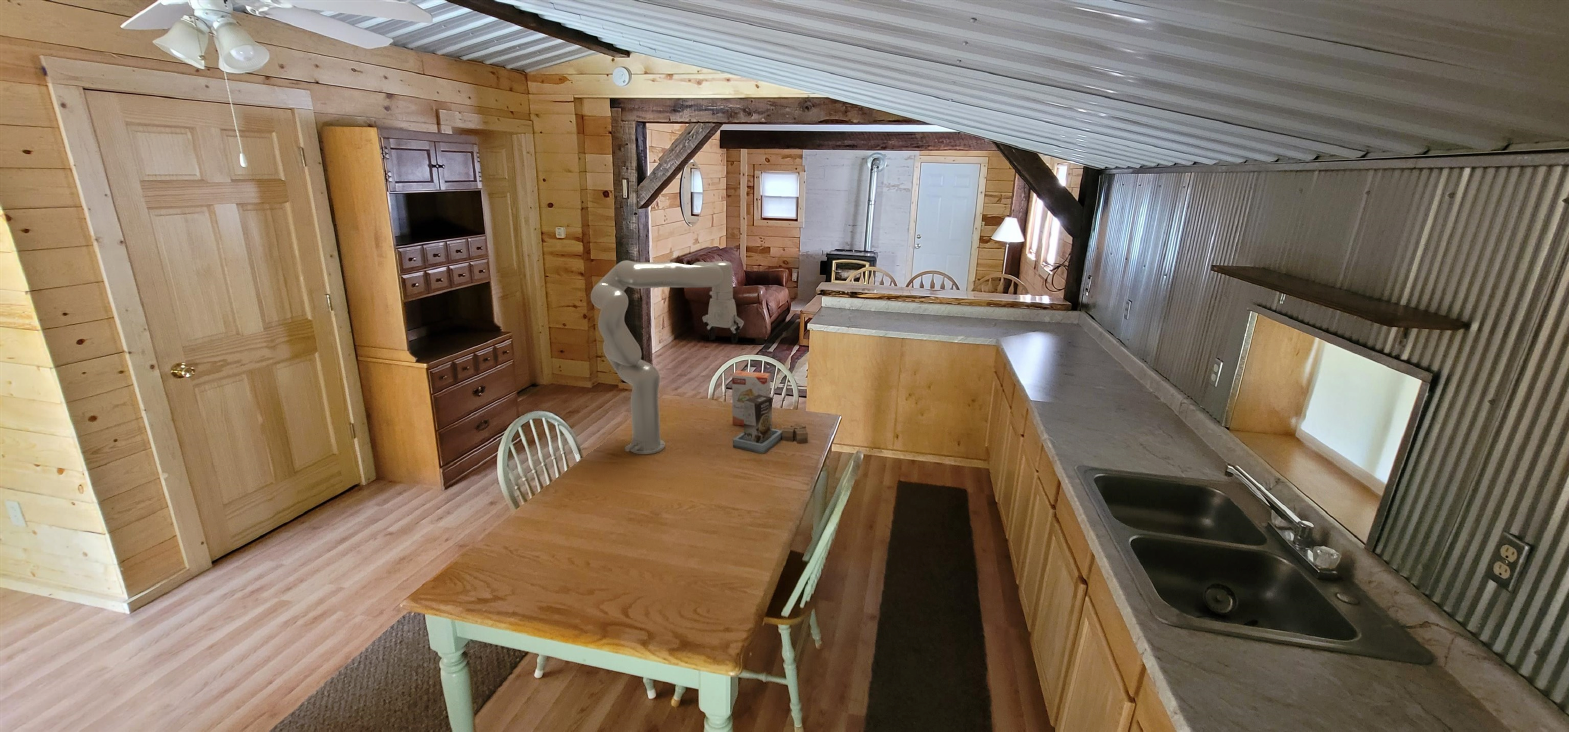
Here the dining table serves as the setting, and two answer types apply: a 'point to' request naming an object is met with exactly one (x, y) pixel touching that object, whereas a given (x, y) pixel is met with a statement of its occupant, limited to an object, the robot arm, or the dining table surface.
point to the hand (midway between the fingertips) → (723, 341)
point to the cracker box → (747, 391)
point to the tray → (757, 447)
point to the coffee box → (758, 418)
